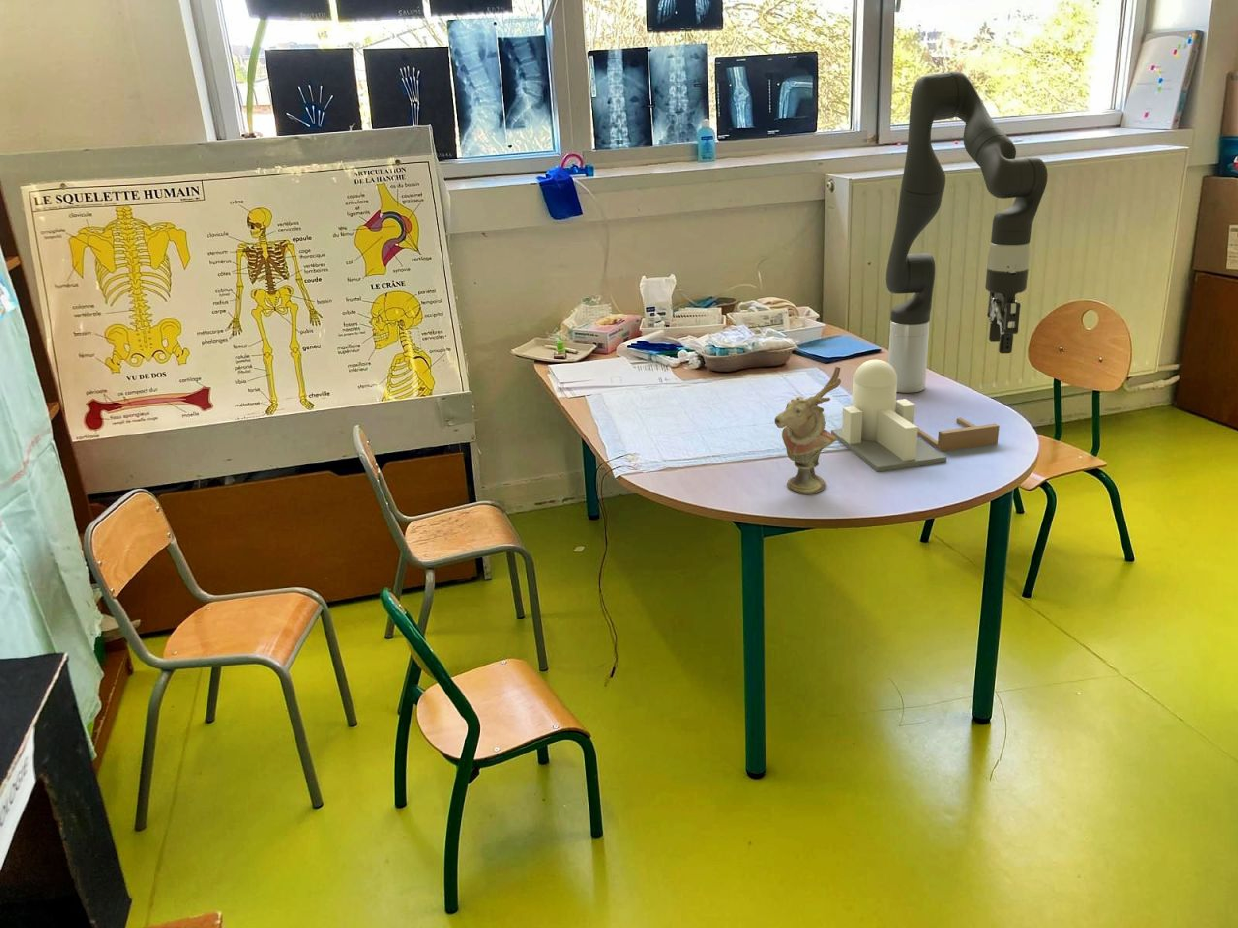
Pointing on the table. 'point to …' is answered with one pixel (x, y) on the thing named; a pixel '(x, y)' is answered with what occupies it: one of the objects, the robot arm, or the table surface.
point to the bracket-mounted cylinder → (882, 422)
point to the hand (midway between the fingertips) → (999, 347)
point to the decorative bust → (807, 437)
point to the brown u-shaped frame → (963, 436)
